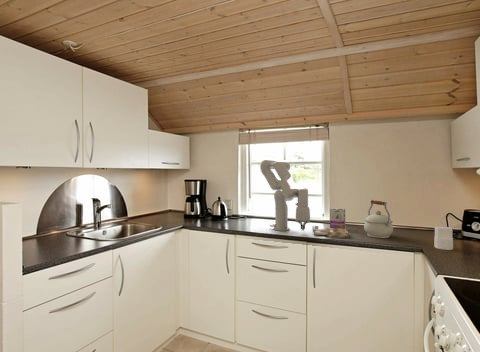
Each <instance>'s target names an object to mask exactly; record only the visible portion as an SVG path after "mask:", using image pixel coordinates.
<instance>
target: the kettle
mask: <svg viewBox="0 0 480 352" xmlns="http://www.w3.org/2000/svg"><path fill="white" fill-rule="evenodd" d="M374 204H375V205H378V206H383V207H384V210H385V212H386V214H382V212H381V210H380V211H379V210H377V211H375V213H374V214H371V210H372V208H373V205H374ZM387 205H388V204H387V202H386V201H381V200H374V199H371V200H370V207H369V208H368V210H367V217H365V219H364V225H363V228H364V229H363V230H364V231H365V232H366V233H367V236H368V237H371V238H376V239H387V238H390V235H391V234H393V232H394V227H393V220H392V219H391V215H390V213H389V210H388V208H387Z"/></svg>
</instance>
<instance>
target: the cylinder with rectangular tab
mask: <svg viewBox="0 0 480 352" xmlns="http://www.w3.org/2000/svg"><path fill="white" fill-rule="evenodd" d="M433 241H434V243H433V244H434V245H433V246H434V248H435V249H439V250H443V251H444V250H447V251H450V250H451V251H452V250H454V238H453V227H449V226H439V227H438V226H437V227H436V226H435V227H434V240H433Z"/></svg>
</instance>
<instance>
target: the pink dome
mask: <svg viewBox="0 0 480 352" xmlns="http://www.w3.org/2000/svg"><path fill="white" fill-rule="evenodd" d="M320 232H326V233H327V232H330V230H329V229H326V228H320Z"/></svg>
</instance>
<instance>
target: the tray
mask: <svg viewBox="0 0 480 352" xmlns="http://www.w3.org/2000/svg"><path fill="white" fill-rule="evenodd" d="M312 226H313V231H312V234H313V235H314V236H315V235H321V236H322V235H323V236H327V233H326V232H320V229H321V228H320V229H319V228H318V229H315V228H314V226H315V225H312ZM330 232H333V230H330Z"/></svg>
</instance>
